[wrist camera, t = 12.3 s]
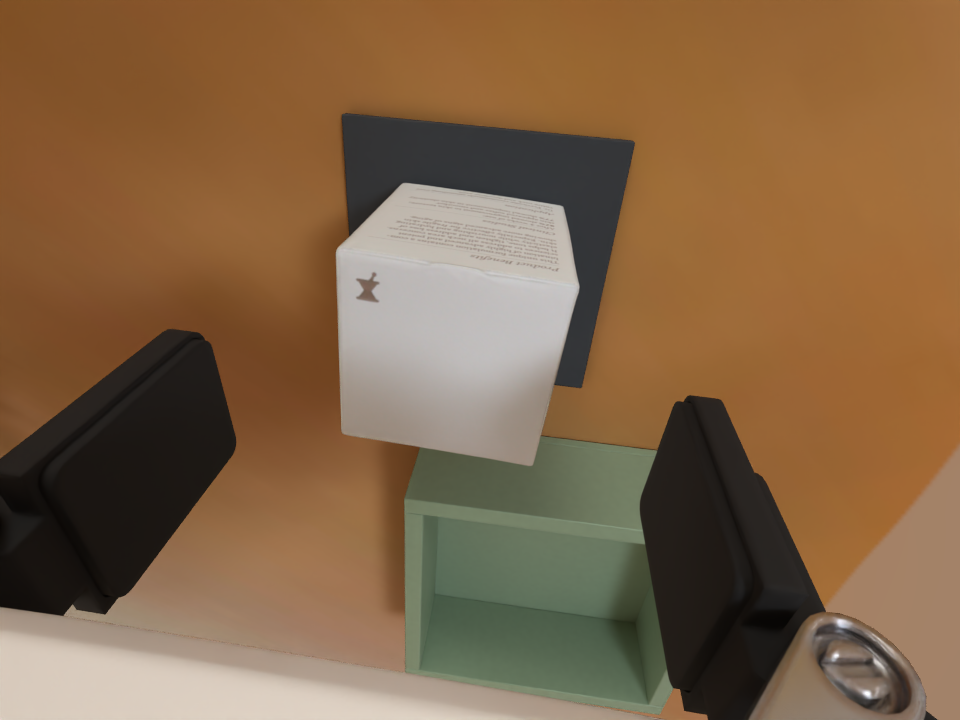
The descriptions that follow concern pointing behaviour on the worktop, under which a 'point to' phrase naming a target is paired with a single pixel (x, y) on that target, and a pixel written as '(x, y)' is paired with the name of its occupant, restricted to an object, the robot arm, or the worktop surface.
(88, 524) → the robot arm
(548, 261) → the product box
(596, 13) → the worktop surface
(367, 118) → the mat
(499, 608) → the green square tray
